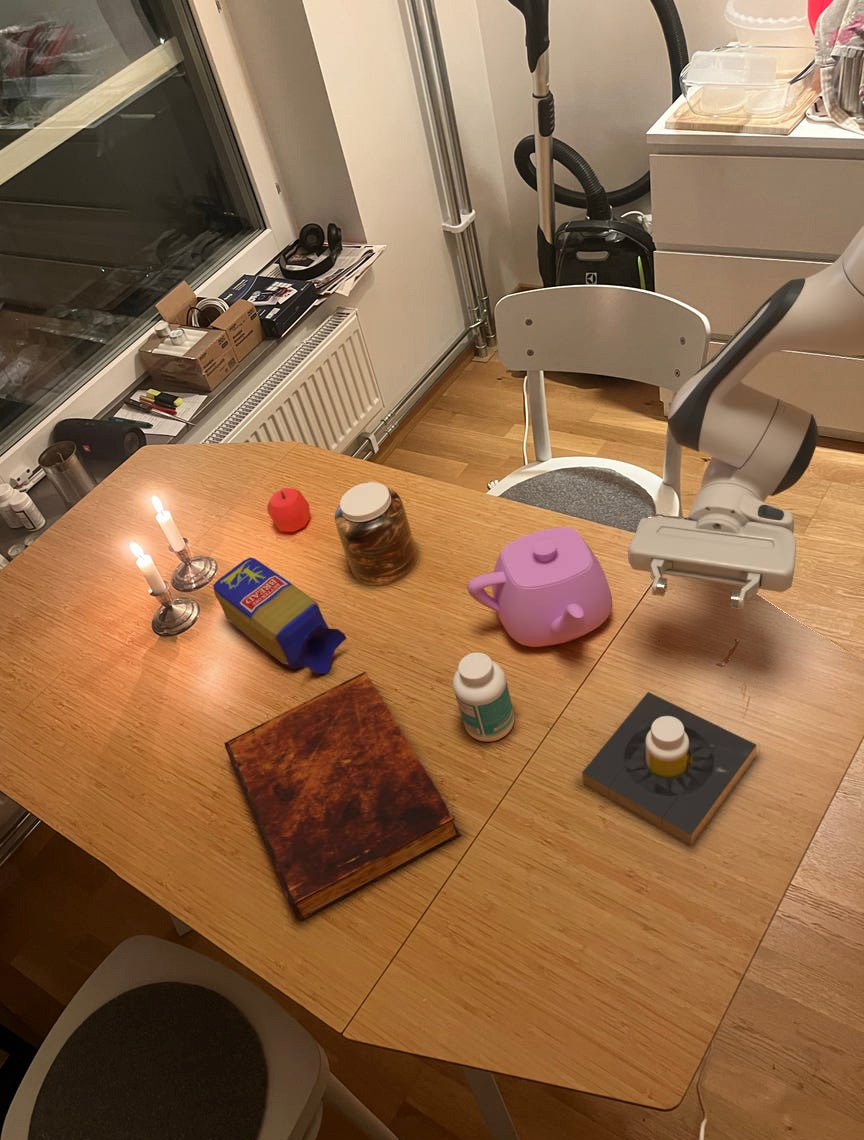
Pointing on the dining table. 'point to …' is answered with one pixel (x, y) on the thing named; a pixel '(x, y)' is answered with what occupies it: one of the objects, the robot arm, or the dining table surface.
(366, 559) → the jar
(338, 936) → the dining table surface
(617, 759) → the drain plate
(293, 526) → the apple
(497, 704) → the pill bottle
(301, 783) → the book
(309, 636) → the bread
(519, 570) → the teapot
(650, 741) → the supplement bottle
